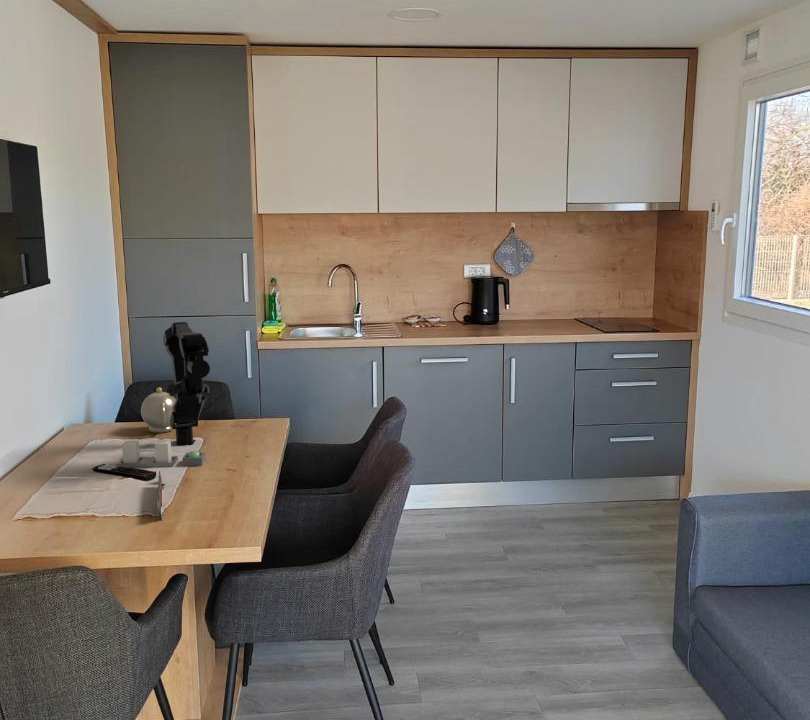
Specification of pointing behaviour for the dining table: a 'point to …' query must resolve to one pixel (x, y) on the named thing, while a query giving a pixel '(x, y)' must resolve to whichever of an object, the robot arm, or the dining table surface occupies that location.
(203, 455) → the grey square tube
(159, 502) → the incense holder
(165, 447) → the seated billet
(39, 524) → the dining table surface
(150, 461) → the tray
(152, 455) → the blue-grey square tray
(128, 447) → the block
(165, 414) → the teapot
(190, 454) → the button
